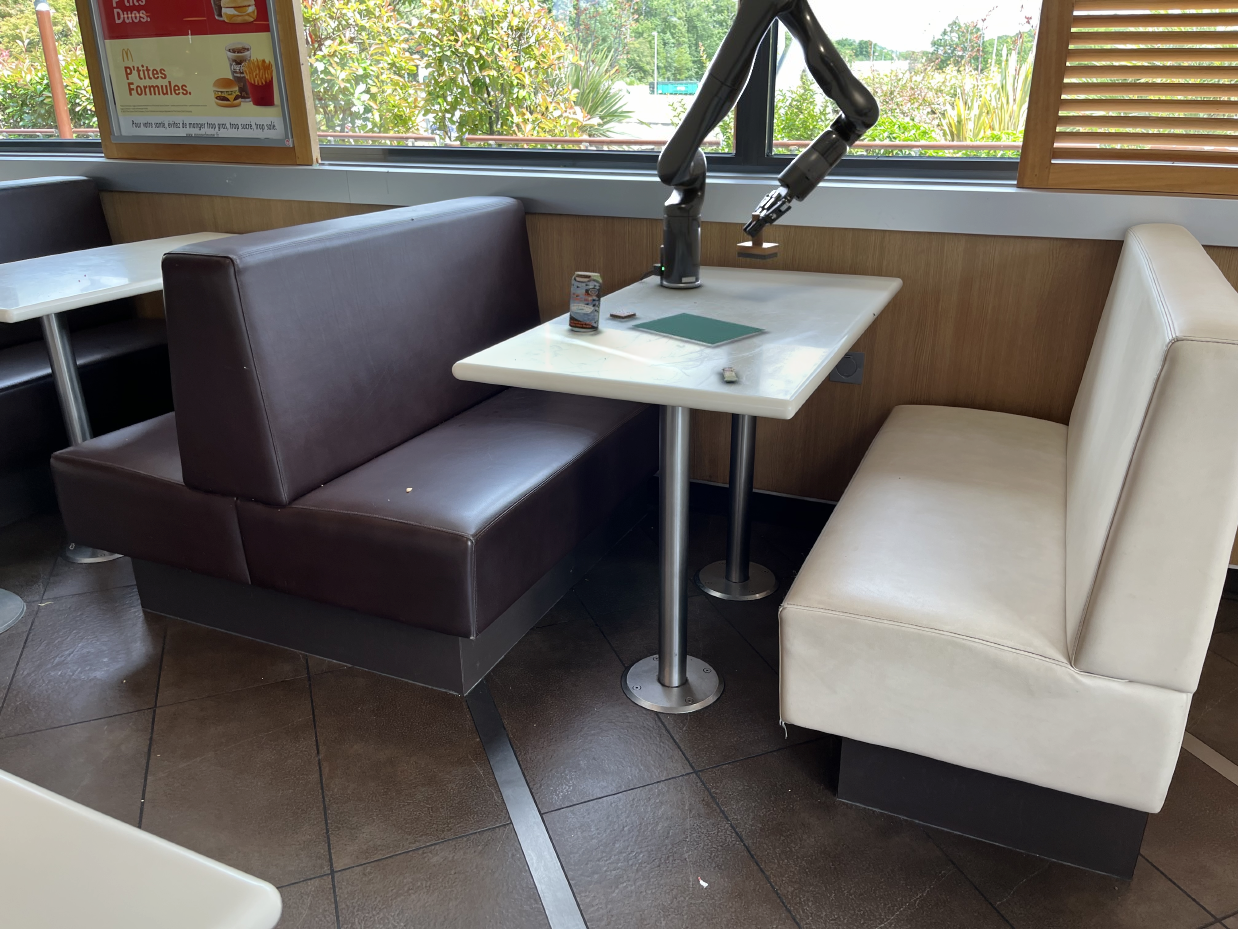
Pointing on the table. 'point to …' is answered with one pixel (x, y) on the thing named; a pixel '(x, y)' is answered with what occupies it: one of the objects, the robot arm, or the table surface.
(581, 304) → the beverage can
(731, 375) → the granola bar
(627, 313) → the brown square block
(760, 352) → the table surface
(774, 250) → the brush
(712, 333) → the mat
